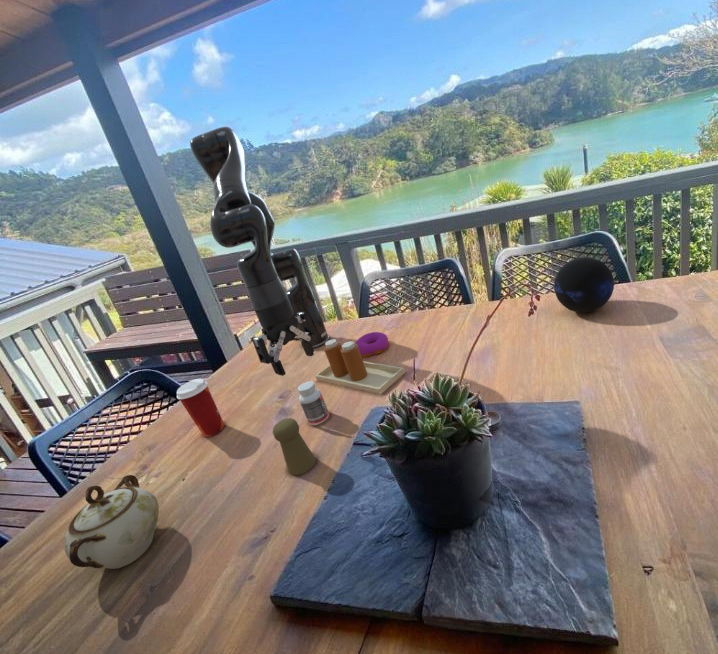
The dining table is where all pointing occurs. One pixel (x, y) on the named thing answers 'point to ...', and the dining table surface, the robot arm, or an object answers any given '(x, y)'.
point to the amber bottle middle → (353, 361)
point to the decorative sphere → (584, 285)
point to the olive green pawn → (293, 447)
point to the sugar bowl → (112, 526)
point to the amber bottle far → (335, 358)
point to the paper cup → (201, 406)
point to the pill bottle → (312, 403)
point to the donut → (372, 343)
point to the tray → (373, 382)
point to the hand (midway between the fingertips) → (296, 364)
